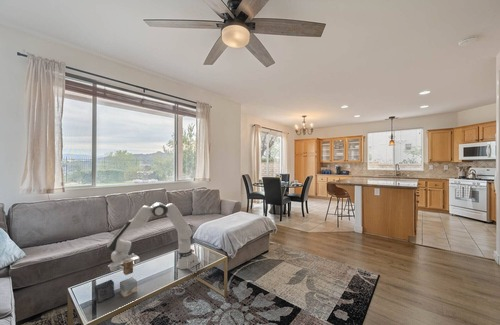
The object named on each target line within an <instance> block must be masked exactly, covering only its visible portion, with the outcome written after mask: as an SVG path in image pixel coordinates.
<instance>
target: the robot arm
mask: <svg viewBox="0 0 500 325" xmlns="http://www.w3.org/2000/svg"><path fill="white" fill-rule="evenodd" d="M153 215H154V216H155V217H157V218H158V217H162V216H167V218H168V219H169V221H170V222H171V223H172V225H173V227H174V229H175V231H177V239H178V240H177V242H178V251H177V258H178V259H177V263H176V268H177V269H181V270H185V269H187V270H190V269H192V268H193V266H194V267H195V266H197V265H198V264H200V263H201V259H200V258H199V257H198V255H197V254H196V253H194V252H195V250H194V249H192V248H191V237H192V236H193V230H192V228H191V226H190V225H189V223H188V222H187V221H186V219H185V217H184V216H183V214H182V213H181V211H180V209H178V207H177V206H176V205H175V204H174V202H173V203H172V202H170V203H167V204H164V203H163V202H162V201H155V202H153V203H152V204H150V205H143V206H141V208H140V209H139V210H138V211H137V213H135V216H134V217H133V218H132V219H130V220H127V221H126V222H125V223H124V224H123V225H122V227H121V228H120V229H118V231H117V232H116V233H115V235H114V236H113V237H111V238H110V240H108V242H107V244H106V248H107V250H108V252H111V254H110V258H111V260H112V262H111V263H109V264H107V268H109V270H110V272H115V271H118V270H123V269H125V266H123V261H125V260H129V259H131V260H133V267H134V266H135V264H138V263H140V259H141V258H140V256H138V255H137V254H135V253H132V250H133V243H132V241H130V240H126V239H122V238H123V236H124V235H125V233H127V232H128V231H130V230H136V229H141V228H144V227H145V225H146V224H147V223H148V221H149V220H150V218H151V217H152V216H153Z"/></svg>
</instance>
